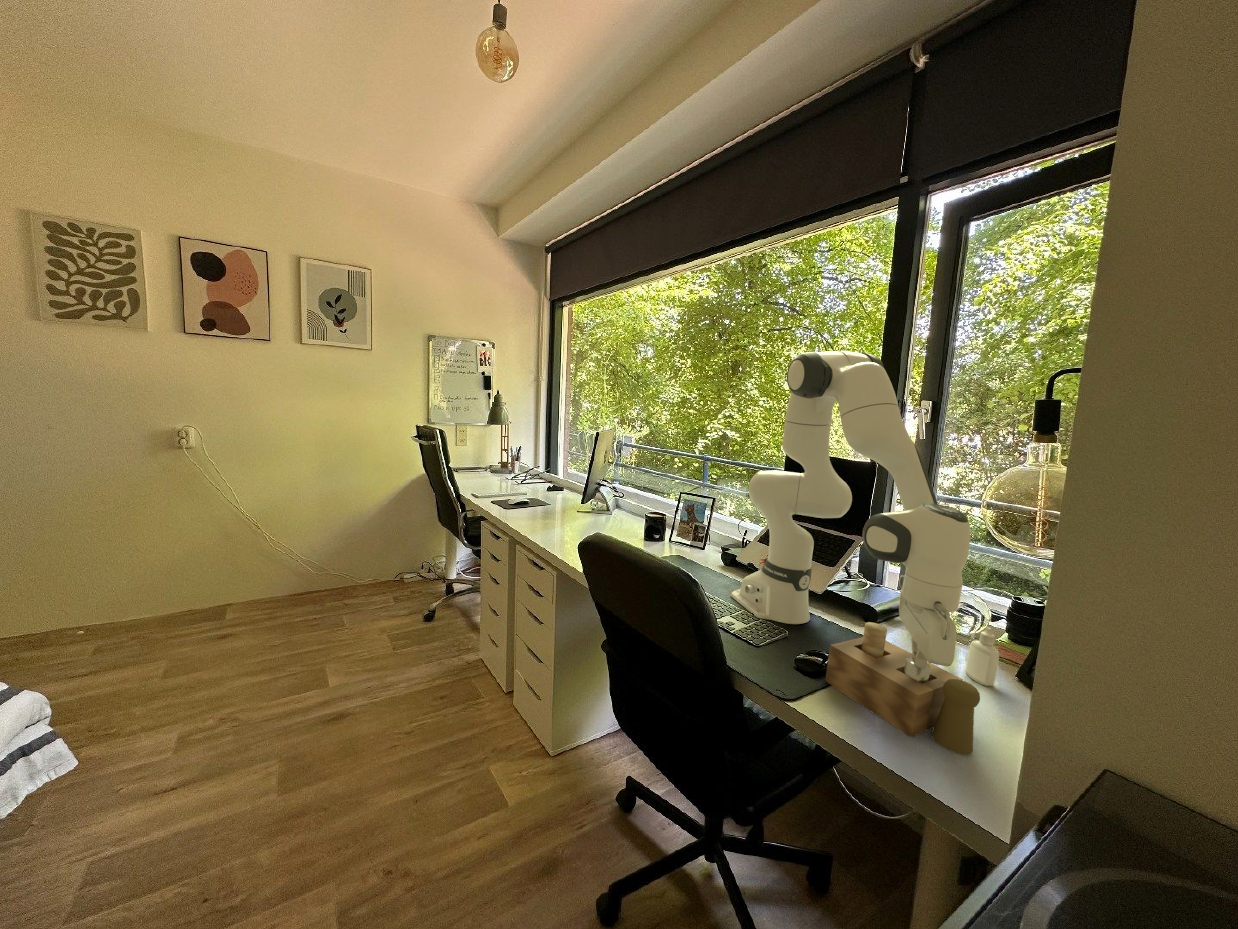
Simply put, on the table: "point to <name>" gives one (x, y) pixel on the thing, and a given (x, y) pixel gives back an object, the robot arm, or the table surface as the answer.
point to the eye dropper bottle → (983, 659)
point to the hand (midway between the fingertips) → (918, 664)
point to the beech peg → (874, 639)
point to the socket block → (887, 685)
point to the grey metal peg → (916, 671)
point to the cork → (956, 717)
